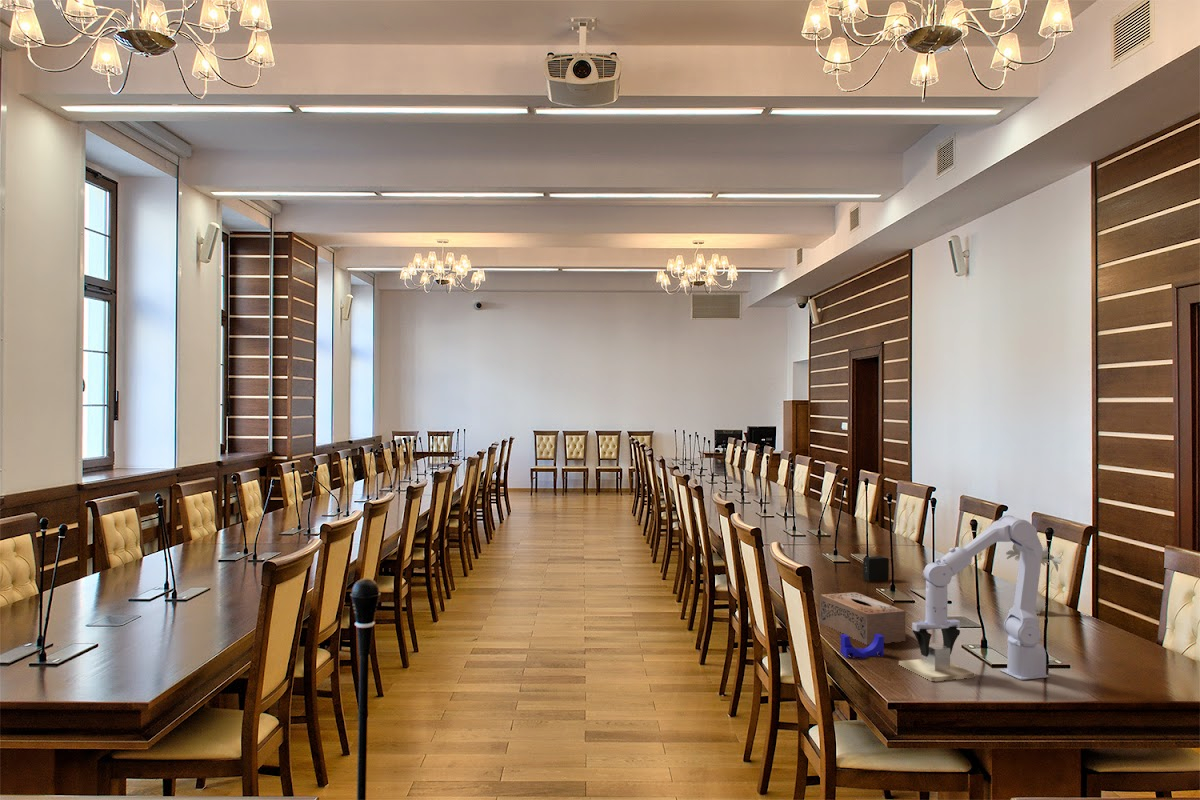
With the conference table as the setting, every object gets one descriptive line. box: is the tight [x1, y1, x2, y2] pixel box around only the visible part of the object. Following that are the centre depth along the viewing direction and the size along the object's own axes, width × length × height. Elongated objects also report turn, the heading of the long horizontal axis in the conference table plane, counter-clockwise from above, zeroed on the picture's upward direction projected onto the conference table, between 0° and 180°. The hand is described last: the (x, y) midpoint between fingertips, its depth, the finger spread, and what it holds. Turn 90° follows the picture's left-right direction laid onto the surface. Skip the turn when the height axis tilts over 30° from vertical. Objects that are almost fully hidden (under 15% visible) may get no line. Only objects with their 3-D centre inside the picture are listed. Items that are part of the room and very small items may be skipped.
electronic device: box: [862, 555, 890, 583], centre depth 336 cm, size 4×10×10 cm, turn 107°
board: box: [898, 658, 975, 682], centre depth 221 cm, size 14×14×1 cm
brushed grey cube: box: [922, 642, 951, 671], centre depth 220 cm, size 5×5×6 cm
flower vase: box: [1006, 543, 1063, 615], centre depth 287 cm, size 13×18×25 cm
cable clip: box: [840, 633, 885, 659], centre depth 234 cm, size 12×4×6 cm, turn 94°
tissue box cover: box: [819, 591, 906, 646], centre depth 259 cm, size 26×14×10 cm, turn 18°
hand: (936, 654), depth 221 cm, fingers open, 7 cm apart
